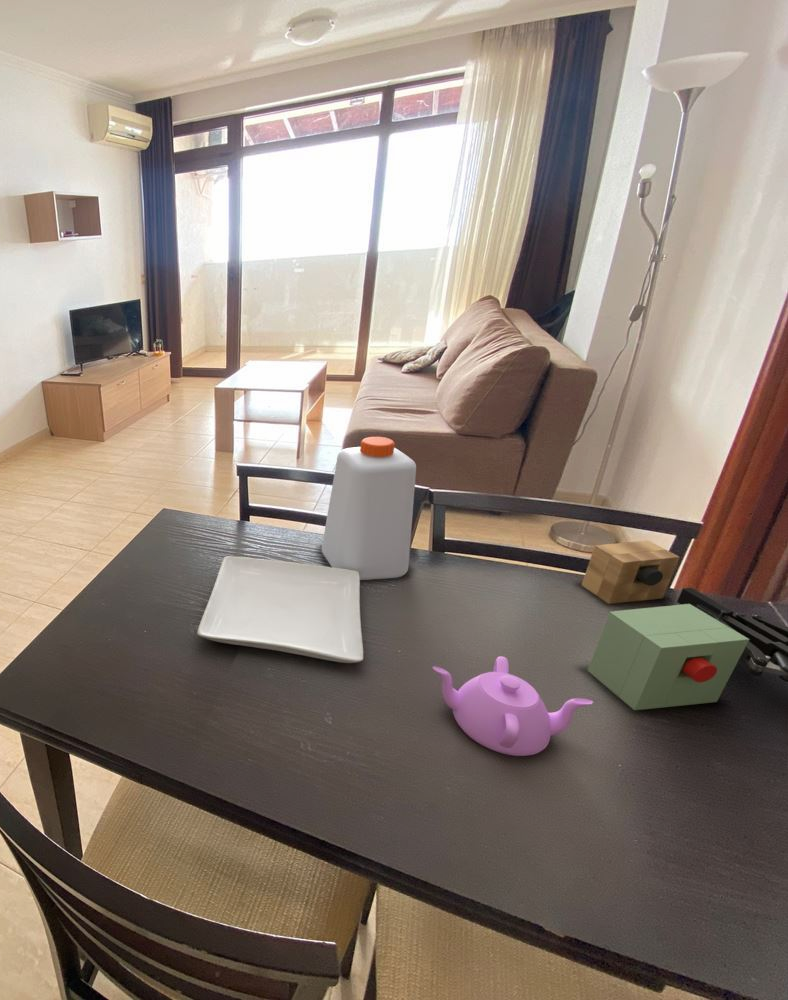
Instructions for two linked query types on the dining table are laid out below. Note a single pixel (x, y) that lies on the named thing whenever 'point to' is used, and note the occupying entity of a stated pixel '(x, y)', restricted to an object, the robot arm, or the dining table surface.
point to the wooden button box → (628, 571)
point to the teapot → (505, 711)
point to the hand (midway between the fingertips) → (684, 595)
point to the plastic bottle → (371, 510)
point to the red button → (699, 670)
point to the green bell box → (664, 655)
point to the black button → (650, 576)
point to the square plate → (286, 608)
